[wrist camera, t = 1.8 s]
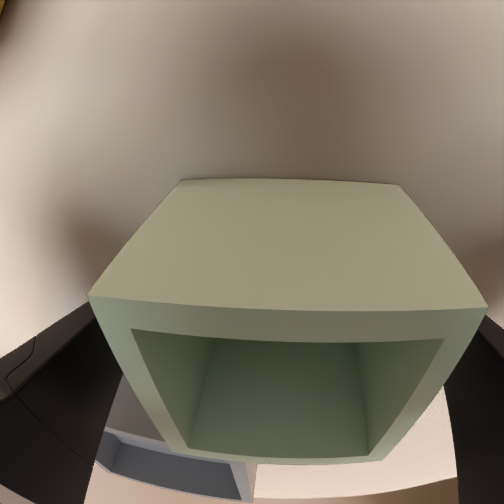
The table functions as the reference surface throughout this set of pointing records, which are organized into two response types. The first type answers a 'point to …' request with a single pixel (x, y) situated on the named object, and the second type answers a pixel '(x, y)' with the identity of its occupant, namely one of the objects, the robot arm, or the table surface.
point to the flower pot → (1, 5)
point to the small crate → (286, 318)
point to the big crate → (165, 456)
